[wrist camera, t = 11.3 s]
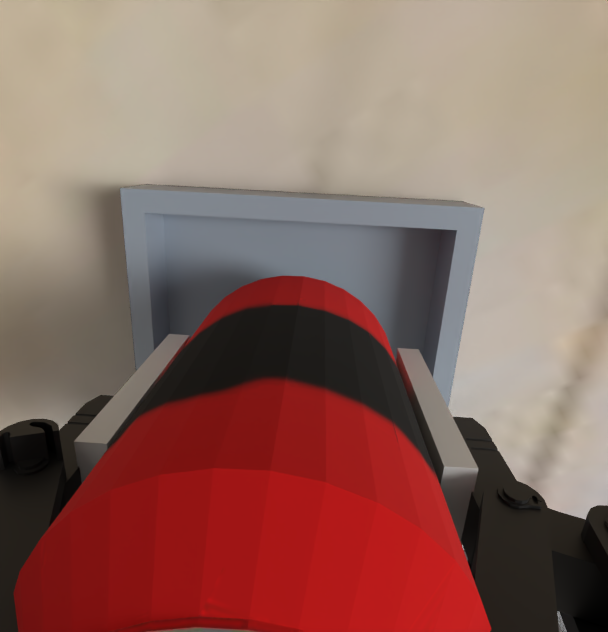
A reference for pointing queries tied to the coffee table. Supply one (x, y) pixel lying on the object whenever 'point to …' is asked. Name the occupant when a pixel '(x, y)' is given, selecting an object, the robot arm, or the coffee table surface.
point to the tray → (301, 259)
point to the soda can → (261, 490)
